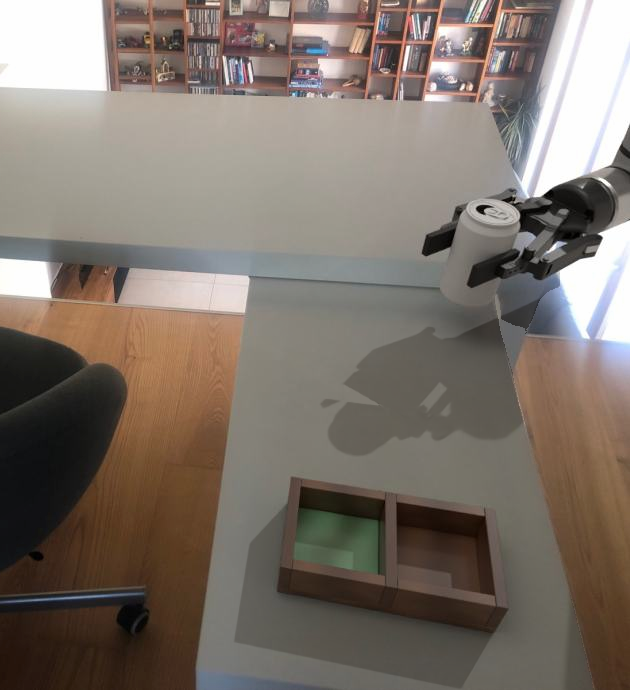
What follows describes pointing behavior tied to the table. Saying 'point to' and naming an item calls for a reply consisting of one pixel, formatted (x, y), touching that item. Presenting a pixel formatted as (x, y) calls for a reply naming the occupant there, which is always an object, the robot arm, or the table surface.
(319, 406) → the table surface
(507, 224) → the beverage can
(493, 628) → the wooden compartment tray
